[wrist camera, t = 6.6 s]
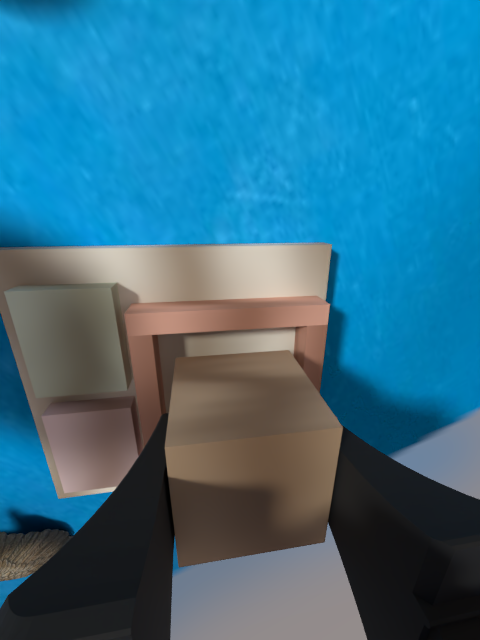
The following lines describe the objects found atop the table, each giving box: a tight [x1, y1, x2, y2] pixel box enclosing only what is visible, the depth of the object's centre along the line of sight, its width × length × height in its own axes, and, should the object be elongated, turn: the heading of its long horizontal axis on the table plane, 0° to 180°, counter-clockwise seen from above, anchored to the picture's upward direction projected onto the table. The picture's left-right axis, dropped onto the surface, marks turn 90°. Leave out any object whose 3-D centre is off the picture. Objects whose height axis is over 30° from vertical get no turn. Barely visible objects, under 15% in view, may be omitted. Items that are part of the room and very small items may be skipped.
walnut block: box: [165, 350, 343, 567], centre depth 11 cm, size 5×5×5 cm
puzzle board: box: [0, 243, 332, 499], centre depth 15 cm, size 15×14×2 cm
